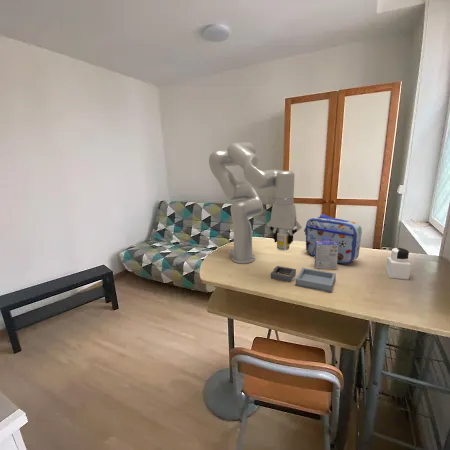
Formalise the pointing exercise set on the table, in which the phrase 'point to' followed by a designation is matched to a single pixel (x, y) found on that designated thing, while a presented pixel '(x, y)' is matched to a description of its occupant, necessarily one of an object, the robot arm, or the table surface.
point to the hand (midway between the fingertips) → (283, 241)
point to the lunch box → (334, 236)
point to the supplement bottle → (282, 239)
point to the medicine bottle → (398, 264)
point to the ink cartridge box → (326, 254)
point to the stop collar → (281, 277)
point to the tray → (316, 279)
